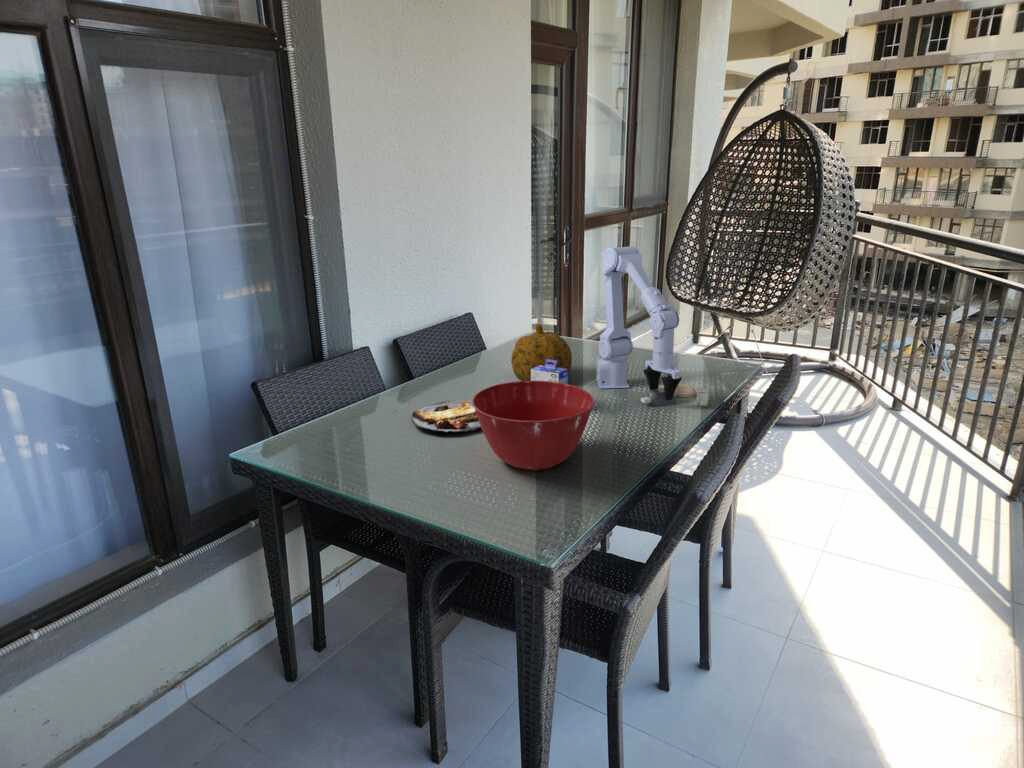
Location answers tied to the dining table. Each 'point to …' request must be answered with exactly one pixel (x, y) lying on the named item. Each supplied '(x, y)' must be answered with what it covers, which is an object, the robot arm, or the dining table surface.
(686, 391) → the cork pad
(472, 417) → the food plate
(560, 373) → the ink cartridge box
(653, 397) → the charcoal plug
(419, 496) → the dining table surface
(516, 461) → the mixing bowl
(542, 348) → the decorative pumpkin
